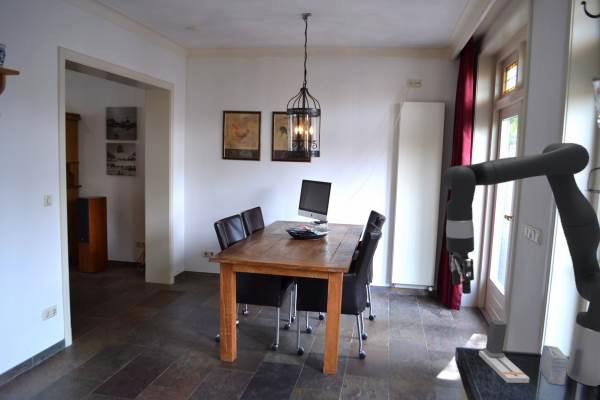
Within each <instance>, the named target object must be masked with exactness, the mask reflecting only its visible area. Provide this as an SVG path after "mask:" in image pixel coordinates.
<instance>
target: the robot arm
mask: <svg viewBox="0 0 600 400" xmlns="http://www.w3.org/2000/svg"><path fill="white" fill-rule="evenodd" d="M589 163H590V153H589V151H588V149H587V148H586V147H584V146H583V145H582V144H579V143H576V142H555V143H551V144H549V145H546V147H544V149H543V150H542V152H541V153H538V154H532V155H531V154H530V155H522V156H520V155H519V156H510V157H503V158H498V159H491V160H485V161H482V162H479V163H472V164H461V165H455V166H451V167H449V168H447V169H445V171H444V172H443V175H442V180H441V181H442V183H443V185H444V186H445V188H447V189H448V190H450V191H451V192H450V199H449V200H448V201H447V202H446V203H447V204H446V224H445V225H446V226H445V233H446V250H447V252H448V257H449V265H448V267H449V270H450V271H451V273H452V285H454V286H460V285H461V292H462V294H464V295H469V294H471V293H472V290H471V289H472V288H471V287H472V285H471V281H475V274H474V273H475V272H474V271H475V269H474V260H473V259H472V258H470V257H469V253H473V252H474V251H475V229H474V227H475V226H474V217H473V216H474V215H473V202H474V199H475V192H476V186H493V185H498V184H504V183H508V182H514V181H518V180H523V179H529V178H535V177H542V176H543V177H544V176H545V177H546V179H547V181H548V184H549V186H550V188H551V191H552V194H553V197H554V198H553V199H554V201H555V205H556V209H557V213H558V215H559V220H560V224H561V228H562V231H563V235H564V238H565V241H566V244H567V247H568V251H569V255H570V258H571V263H572V270H573V277H574V281H575V289H576V291H577V293H578V295H580V296H579V297H581V298H582V299H584V300H586V301H587V302H588V303H589V304H588V308H587V310H586V311H579V312H578V313H577V314H576V318H575V322H574V327H573V334H572V339H571V344H570V346H571V347H570V351H569V356H568V364H567V370H566V375H567V376H568V377H569V378H570V379H571V380H574V381H576V382H578V383H580V384H583V385H585V386H589V387H590V386H591V387H599V386H598V385H600V264H599V260H598V248H599V246H600V223H599V219H598V216H597V212H596V211H595V208H594V207H593V205H592V204H591V203H590V201H589V200H588V198H587V197H586V196H585V194H583V192H582V191H581V189H580V188H579V185H578V184H577V181H576V178H575V175H577V174H579V173H581V172H582V171H584V170H585V169H586V168H587V167H588V165H589Z"/></svg>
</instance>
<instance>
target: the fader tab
mask: <svg viewBox="0 0 600 400" xmlns="http://www.w3.org/2000/svg"><path fill="white" fill-rule="evenodd" d="M488 324H489V325H488V331H487V338H486V344H485V347H483V349H482V351H484V352H485V353H486V354H487V355H488V356H489V357H504V356H505V353H504V352H503V351H504V350H503V349H504V345H505V338H506V332H507V325H508V324H507V323H505V322H504V321H503V320H499V319H498V320H496V319H495V320H493V319H490V320H489V323H488Z"/></svg>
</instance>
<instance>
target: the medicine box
mask: <svg viewBox="0 0 600 400" xmlns="http://www.w3.org/2000/svg"><path fill="white" fill-rule="evenodd" d="M542 346H543V347H542V350H541V356H540V362H539V371H540V373H541V374H542V376H543V377H544V378H545V379H546V381H547V383H548V384H553V385H559V386H564V385H565V383H566V381H565V380H566V375H567V373H566V372H567V366H568V360H569V358H568V357H567V356H566V355H565V353H563V352H562V350H561V348H559V347H557V346H553V345H552V346H551V345H542Z"/></svg>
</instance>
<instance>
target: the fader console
mask: <svg viewBox="0 0 600 400" xmlns="http://www.w3.org/2000/svg"><path fill="white" fill-rule="evenodd" d="M478 356H479V357H480V358H482V360H483V361H484V362H485V363H486V364H487V365H488V366H490V368H492V370H494V372H495V373H497V375H499V377H501V378H502V380H504V381H505V383H508V384H510V383H511V384H512V383H515V384H519V383H520V384H530V377H529V376H528V375H527V374H526V373H525V372H523V371H522V370H521V369H520V368H519V367H517V366H516V365H515V364H514V363H513V362H512V361H511V360H509V358H507V356H505V355H504V357H489V356H488V355H487V354H486V353H485V352H484V351H483V350H479V351H478Z"/></svg>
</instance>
